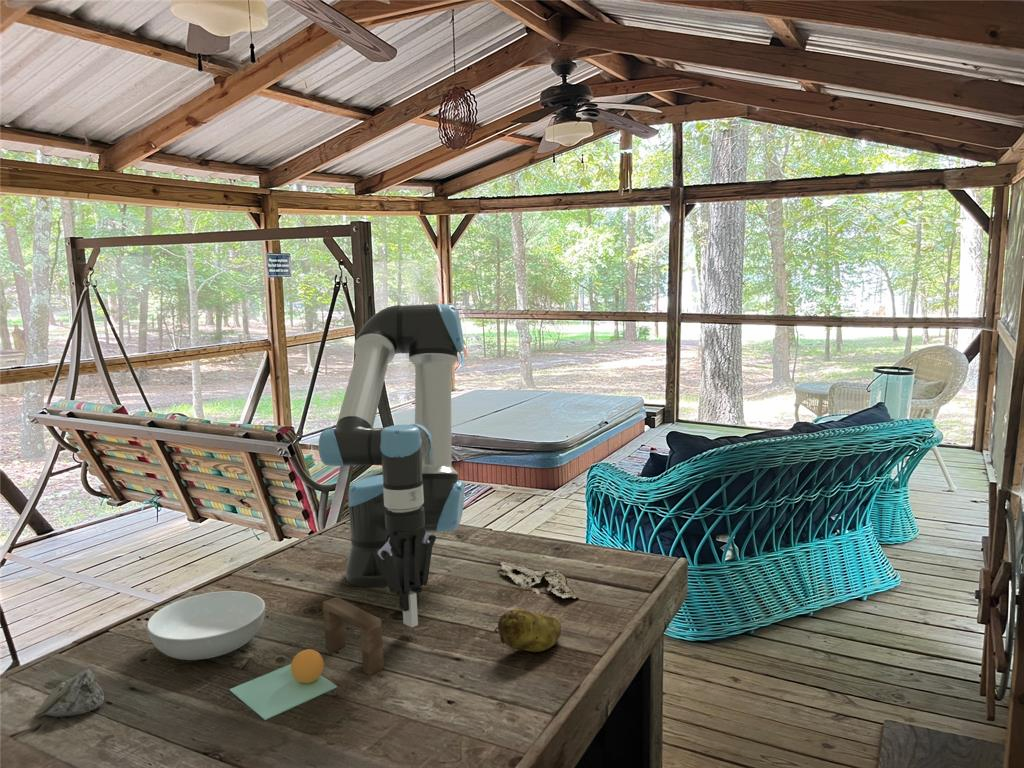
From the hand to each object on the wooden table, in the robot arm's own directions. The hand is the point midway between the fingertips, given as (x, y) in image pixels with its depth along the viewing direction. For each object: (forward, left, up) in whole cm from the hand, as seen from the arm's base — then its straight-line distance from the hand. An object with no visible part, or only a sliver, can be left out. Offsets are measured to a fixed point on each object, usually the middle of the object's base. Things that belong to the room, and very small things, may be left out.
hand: (410, 624), depth 144 cm
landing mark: (0, -27, -2) cm, 27 cm away
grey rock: (-22, -53, -2) cm, 57 cm away
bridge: (0, -13, -2) cm, 13 cm away
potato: (+22, +11, -2) cm, 25 cm away
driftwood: (+2, +34, -3) cm, 34 cm away
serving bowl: (-25, -29, -2) cm, 38 cm away
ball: (+1, -23, +1) cm, 23 cm away
